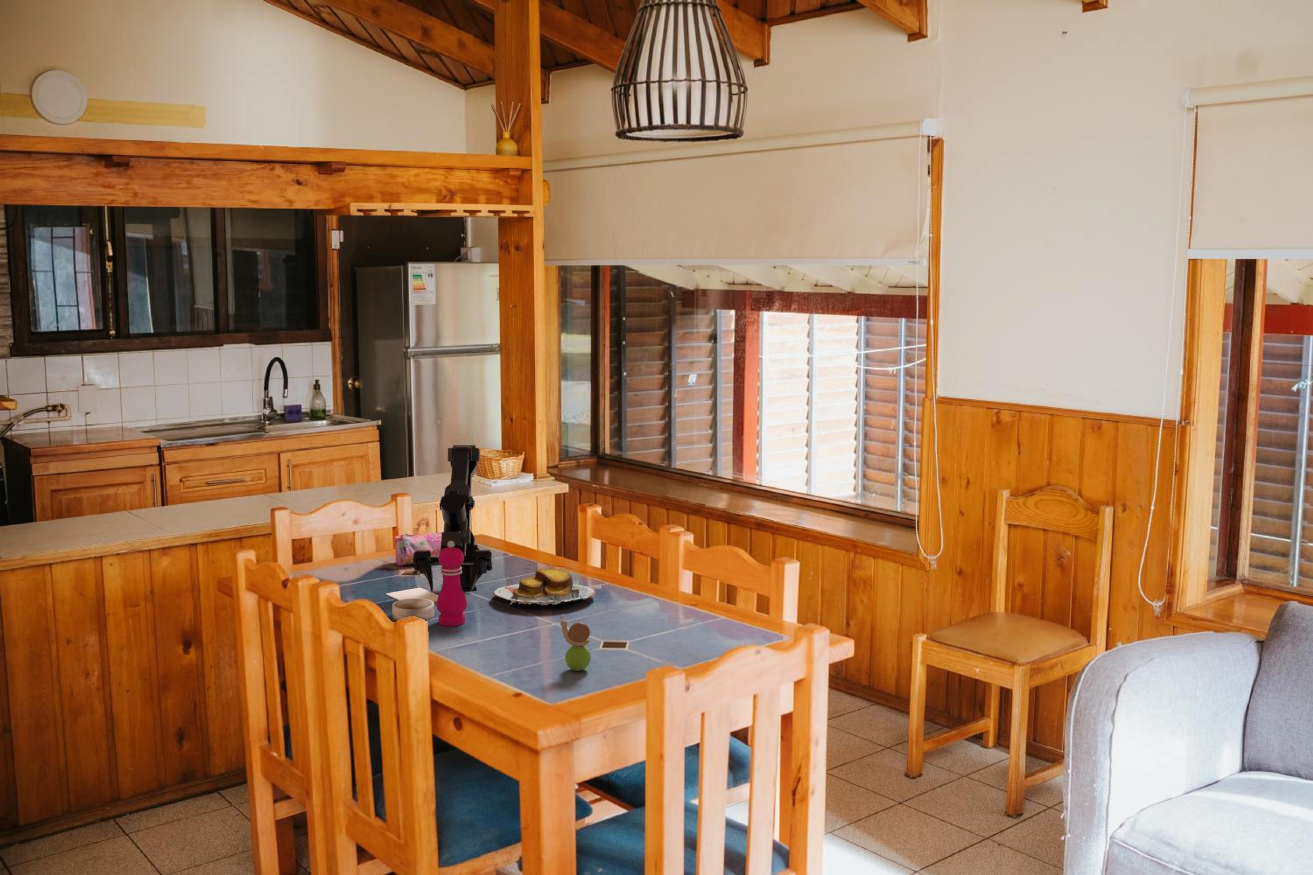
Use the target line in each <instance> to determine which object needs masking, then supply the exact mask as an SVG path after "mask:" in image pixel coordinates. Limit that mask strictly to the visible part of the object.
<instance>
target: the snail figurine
mask: <svg viewBox="0 0 1313 875" xmlns="http://www.w3.org/2000/svg"><path fill="white" fill-rule="evenodd" d="M563 618H564V615H563V614H560V619H561V621H560V626H561V632H562V635H563V638H564V640H565V642H566V643H567V644H569V645H570V647H569V648H568V649H567V650H566V652H565V656H564V661H565V664H566V665H567V666H568V668H569V669H570V670H572V671H577V672H579V671H583V670H585V669H587V668H588V666H589V665H590V663H591V659H592V658H591V657H592V656H591V653H590V650H589V649H588V648H587V647H586V646H587V645H588V644H589V643H590V642H591V639H589V638H590V634H591V629H590V628H589V627H590V626H588V625H587V624H586V623H584V622H581V621H579V622H575V623H573V624H572V625H571V626H570V627H569V629H568V622H567V620H565V619H564V620H563Z"/></svg>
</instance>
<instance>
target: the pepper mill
mask: <svg viewBox="0 0 1313 875" xmlns="http://www.w3.org/2000/svg"><path fill="white" fill-rule="evenodd" d="M447 546H448V547H446V548H444V549H443V550H441V552H440V553H439V557H438V560H439V563H440V564H439V565H441V567H440V574H441V575H442V584H441V589H440V592H439V594H438V595H439V596H438V599H437V602H436V606H435V607H436V609H437V611H438V613H439V615H438V624H439V625H441V626H445V627H456V626H461V625H463V624H465V622H466V614H465V613H464V612H465V610H466V609H467V607H468V601H467V597H466V594H465V592H464V591H463V590H462V588H461V584H460V574H461V573H462V571H461V569H462V567H461V564H462V563H463V561H464V555H463V552H462V551H461V550H460V549H459V548H457V547H454V546H455V544H454V542H453V541H449V542H448V544H447Z"/></svg>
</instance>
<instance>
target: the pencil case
mask: <svg viewBox="0 0 1313 875" xmlns="http://www.w3.org/2000/svg"><path fill="white" fill-rule="evenodd" d="M441 533H442V532H437V533H436V532H435V533H428V534H424V533H423V534H418V535H417V534H408V533H404V534H401V535H398V536H397V535H396V536H394V539H395V541H394V542H395V552H394V553H395V563H396V565H398V566H408V565H409V566H410V565H414V563H413V553H414V552H415V551H416V550H430V552H431V556H439V553H440V552H441V551H440V548H441Z"/></svg>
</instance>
